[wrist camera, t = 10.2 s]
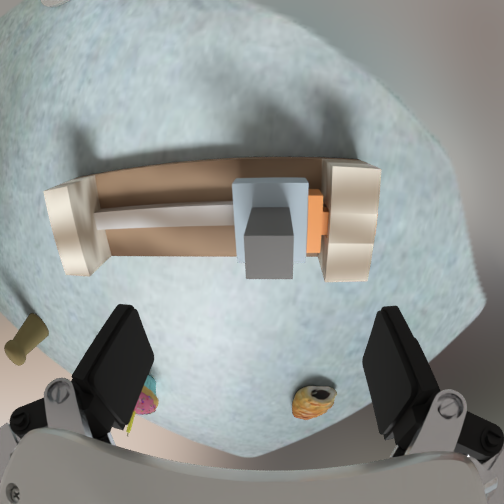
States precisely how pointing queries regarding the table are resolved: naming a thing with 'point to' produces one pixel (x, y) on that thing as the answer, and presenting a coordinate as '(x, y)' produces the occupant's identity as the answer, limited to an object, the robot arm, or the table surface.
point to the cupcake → (145, 400)
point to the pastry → (312, 401)
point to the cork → (26, 339)
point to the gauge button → (316, 221)
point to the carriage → (270, 225)
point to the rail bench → (188, 190)
